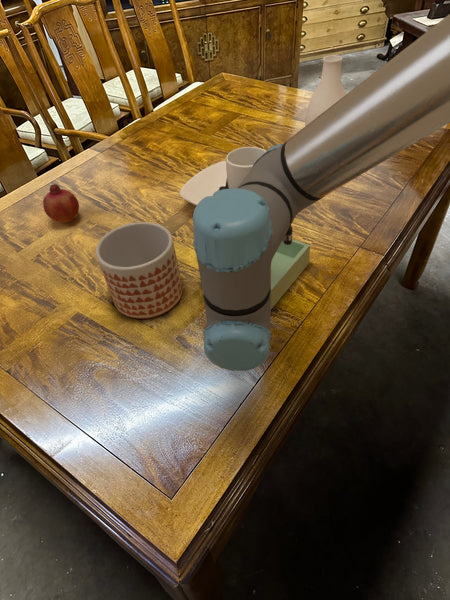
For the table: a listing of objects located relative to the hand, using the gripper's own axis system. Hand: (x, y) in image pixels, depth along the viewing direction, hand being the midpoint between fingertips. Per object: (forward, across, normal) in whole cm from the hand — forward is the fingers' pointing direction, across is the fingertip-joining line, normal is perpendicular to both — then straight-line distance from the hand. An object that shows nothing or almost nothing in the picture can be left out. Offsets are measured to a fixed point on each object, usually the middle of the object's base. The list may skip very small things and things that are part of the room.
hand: (250, 179), depth 73 cm
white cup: (-5, 0, -8) cm, 10 cm away
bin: (-2, 0, -20) cm, 20 cm away
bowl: (+24, -6, -20) cm, 31 cm away
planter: (-9, -20, -20) cm, 30 cm away
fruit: (+17, -47, -20) cm, 54 cm away
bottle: (+44, +18, -20) cm, 52 cm away
